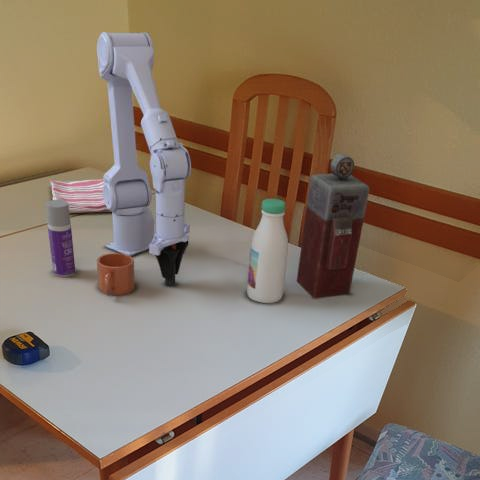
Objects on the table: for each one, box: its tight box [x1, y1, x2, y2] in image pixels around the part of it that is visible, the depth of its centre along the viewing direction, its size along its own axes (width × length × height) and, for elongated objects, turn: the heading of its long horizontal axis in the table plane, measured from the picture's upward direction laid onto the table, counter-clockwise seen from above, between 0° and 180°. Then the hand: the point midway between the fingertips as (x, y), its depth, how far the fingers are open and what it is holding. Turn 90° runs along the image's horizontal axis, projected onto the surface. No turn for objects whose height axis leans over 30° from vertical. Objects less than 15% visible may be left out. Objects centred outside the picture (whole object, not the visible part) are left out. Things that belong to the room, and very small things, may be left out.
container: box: [45, 199, 76, 278], centre depth 132 cm, size 5×5×15 cm
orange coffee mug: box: [96, 252, 136, 297], centre depth 129 cm, size 10×7×6 cm
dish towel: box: [49, 178, 112, 214], centre depth 172 cm, size 17×23×4 cm
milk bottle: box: [246, 198, 289, 304], centre depth 128 cm, size 8×8×20 cm
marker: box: [164, 244, 176, 287], centre depth 133 cm, size 2×2×9 cm
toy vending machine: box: [296, 153, 370, 299], centre depth 130 cm, size 9×11×28 cm
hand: (170, 275), depth 134 cm, fingers closed on marker, 2 cm apart
